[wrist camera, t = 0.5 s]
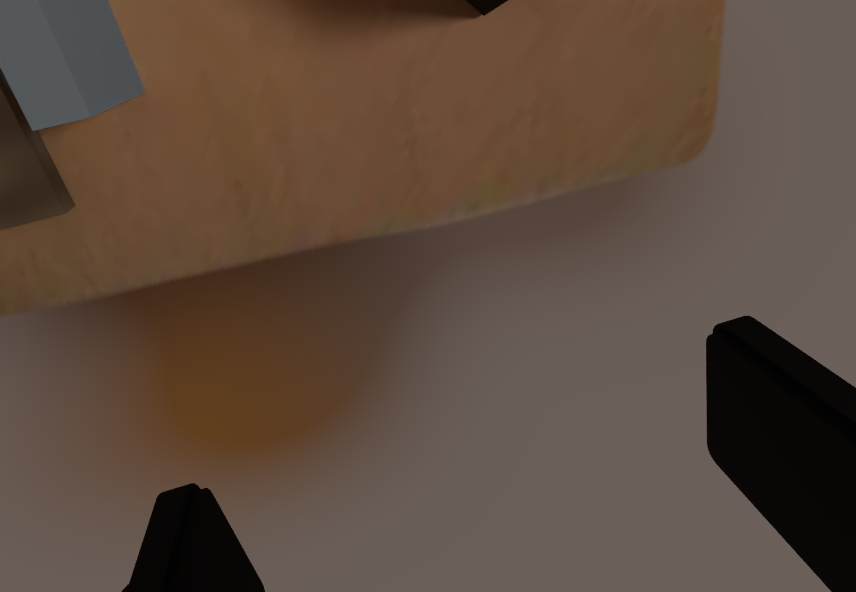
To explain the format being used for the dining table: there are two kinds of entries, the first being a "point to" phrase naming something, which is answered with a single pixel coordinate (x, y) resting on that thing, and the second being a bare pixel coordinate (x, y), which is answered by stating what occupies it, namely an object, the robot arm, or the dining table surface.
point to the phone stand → (486, 5)
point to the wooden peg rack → (26, 170)
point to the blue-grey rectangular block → (64, 59)
